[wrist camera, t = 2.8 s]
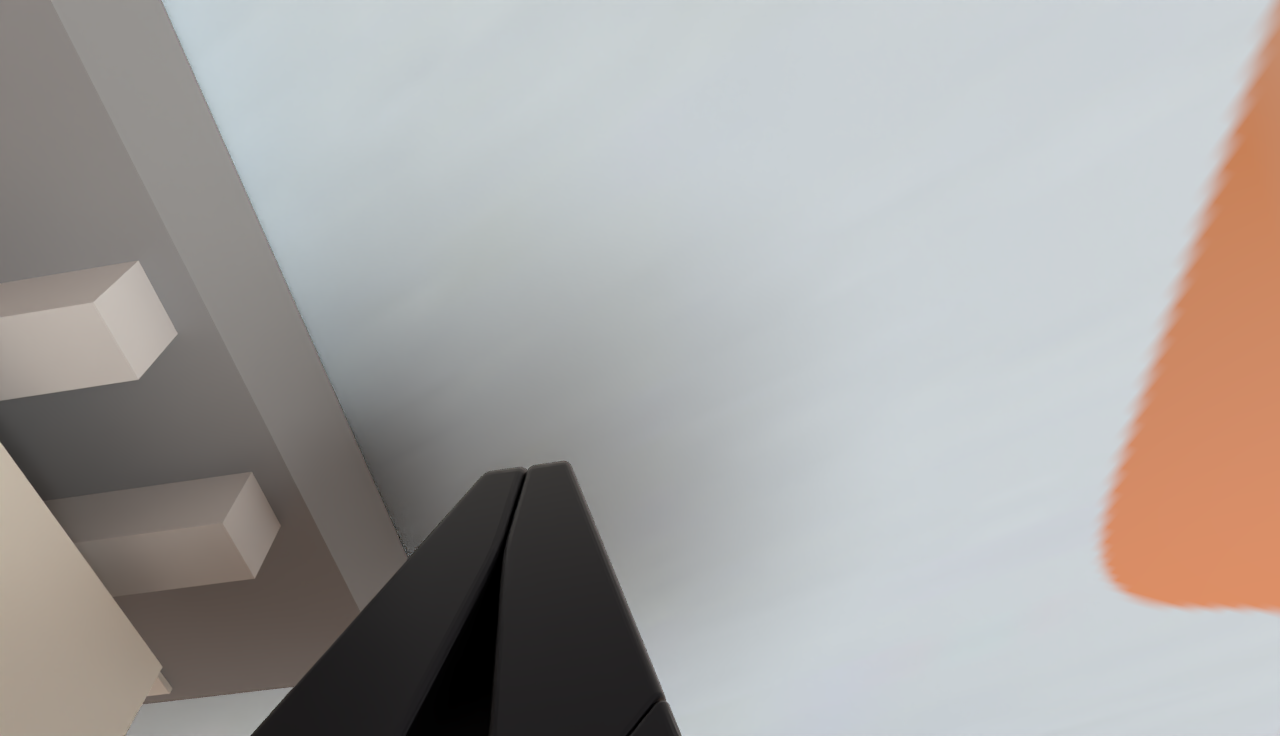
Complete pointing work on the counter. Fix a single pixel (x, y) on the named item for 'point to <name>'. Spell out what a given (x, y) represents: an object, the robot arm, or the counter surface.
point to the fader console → (168, 362)
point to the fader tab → (60, 629)
